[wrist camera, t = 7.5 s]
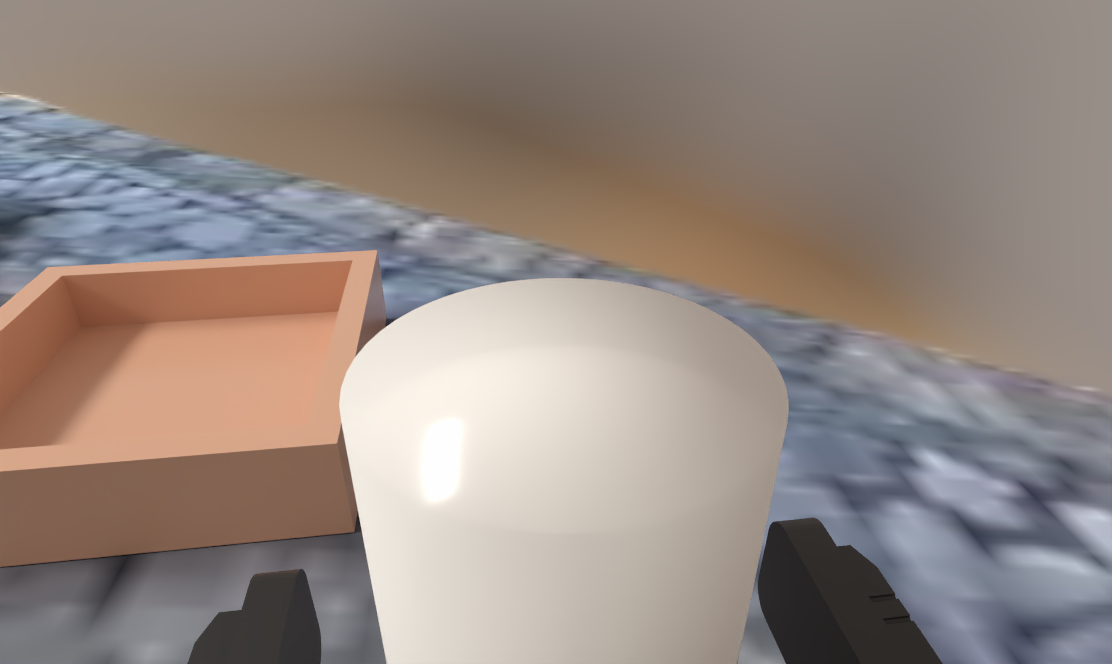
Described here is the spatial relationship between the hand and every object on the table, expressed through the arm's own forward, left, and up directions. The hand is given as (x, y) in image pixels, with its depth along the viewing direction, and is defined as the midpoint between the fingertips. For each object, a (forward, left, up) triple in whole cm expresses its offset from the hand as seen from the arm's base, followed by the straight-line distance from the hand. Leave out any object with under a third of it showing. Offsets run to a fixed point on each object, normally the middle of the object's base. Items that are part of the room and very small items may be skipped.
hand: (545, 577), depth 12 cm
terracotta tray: (-12, +15, -6) cm, 20 cm away
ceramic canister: (0, -2, -6) cm, 7 cm away
